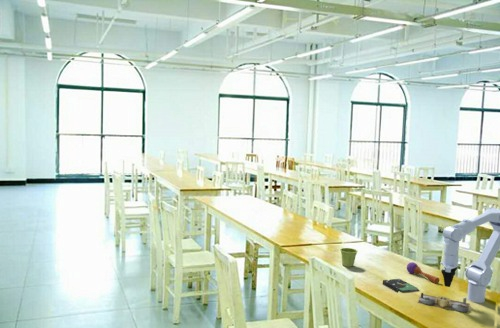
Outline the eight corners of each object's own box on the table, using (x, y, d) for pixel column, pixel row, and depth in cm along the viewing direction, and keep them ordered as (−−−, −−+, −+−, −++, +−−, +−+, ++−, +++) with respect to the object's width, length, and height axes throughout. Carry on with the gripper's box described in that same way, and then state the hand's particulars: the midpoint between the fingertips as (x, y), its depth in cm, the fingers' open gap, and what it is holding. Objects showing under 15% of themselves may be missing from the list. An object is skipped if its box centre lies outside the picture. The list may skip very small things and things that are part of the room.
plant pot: (356, 269, 253) (357, 253, 252) (339, 267, 255) (340, 251, 254) (356, 264, 262) (357, 248, 261) (339, 262, 264) (340, 247, 263)
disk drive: (381, 285, 230) (401, 296, 217) (382, 280, 230) (402, 290, 216) (399, 283, 234) (419, 294, 220) (399, 278, 234) (420, 288, 220)
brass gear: (436, 301, 207) (437, 295, 207) (450, 304, 204) (451, 298, 204) (435, 305, 202) (435, 299, 202) (448, 308, 199) (449, 302, 199)
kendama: (432, 277, 233) (404, 262, 251) (432, 287, 235) (404, 272, 253) (441, 273, 236) (412, 259, 253) (441, 284, 237) (412, 269, 255)
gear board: (422, 296, 216) (422, 286, 216) (469, 306, 207) (470, 296, 206) (417, 305, 205) (418, 295, 204) (467, 316, 195) (468, 305, 195)
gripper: (443, 248, 214) (440, 277, 215) (439, 256, 201) (436, 286, 202) (460, 251, 210) (457, 280, 211) (456, 259, 198) (454, 290, 199)
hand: (448, 284), depth 207 cm, fingers open, 7 cm apart
